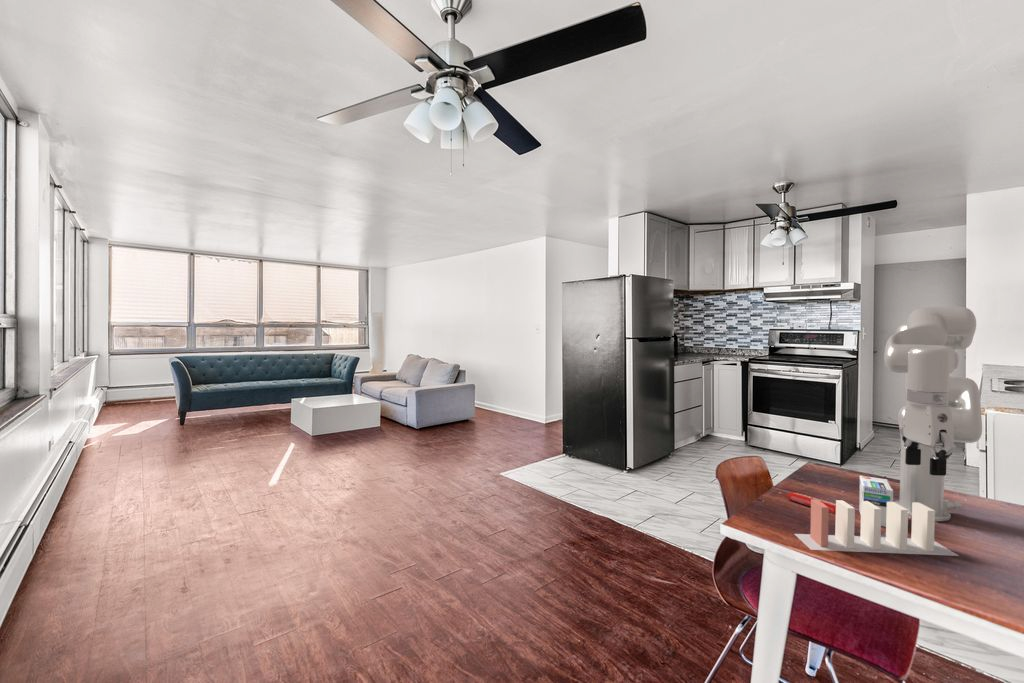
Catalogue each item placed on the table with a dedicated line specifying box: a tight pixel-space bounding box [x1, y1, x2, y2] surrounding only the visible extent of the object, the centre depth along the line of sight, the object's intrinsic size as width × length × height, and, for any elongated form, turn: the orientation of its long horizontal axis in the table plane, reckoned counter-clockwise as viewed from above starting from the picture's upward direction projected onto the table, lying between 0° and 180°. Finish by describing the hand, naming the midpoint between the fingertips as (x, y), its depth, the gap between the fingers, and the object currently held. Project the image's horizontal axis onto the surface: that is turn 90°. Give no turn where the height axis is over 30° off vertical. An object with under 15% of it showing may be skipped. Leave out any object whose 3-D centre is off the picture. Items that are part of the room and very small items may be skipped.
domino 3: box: [859, 501, 882, 549], centre depth 115 cm, size 2×5×10 cm, turn 174°
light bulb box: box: [858, 475, 894, 528], centre depth 130 cm, size 11×7×11 cm, turn 148°
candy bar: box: [786, 492, 836, 515], centre depth 139 cm, size 16×4×3 cm, turn 32°
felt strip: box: [794, 533, 960, 557], centre depth 116 cm, size 33×8×1 cm, turn 83°
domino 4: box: [885, 501, 909, 550], centre depth 115 cm, size 2×5×10 cm, turn 174°
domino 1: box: [809, 499, 830, 547], centre depth 117 cm, size 2×5×10 cm, turn 174°
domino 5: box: [910, 502, 936, 551], centre depth 114 cm, size 2×5×10 cm, turn 173°
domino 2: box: [834, 499, 856, 548], centre depth 116 cm, size 2×5×10 cm, turn 174°
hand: (924, 469), depth 113 cm, fingers open, 7 cm apart
